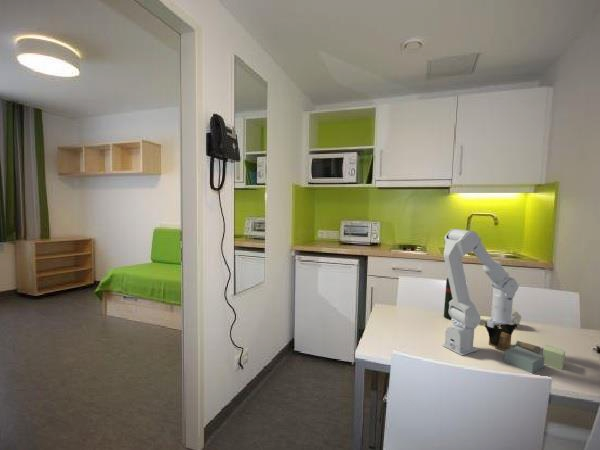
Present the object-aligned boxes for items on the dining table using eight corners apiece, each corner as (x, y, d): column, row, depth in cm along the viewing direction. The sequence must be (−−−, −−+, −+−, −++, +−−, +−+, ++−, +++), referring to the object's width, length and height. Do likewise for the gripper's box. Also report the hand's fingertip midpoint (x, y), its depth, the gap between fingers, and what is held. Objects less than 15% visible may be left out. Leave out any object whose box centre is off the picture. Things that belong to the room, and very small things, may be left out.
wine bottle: (469, 323, 132) (474, 257, 130) (445, 319, 135) (449, 255, 133) (465, 316, 140) (470, 254, 137) (442, 313, 143) (446, 252, 140)
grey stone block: (493, 325, 131) (507, 314, 125) (492, 311, 138) (505, 299, 131) (512, 334, 130) (527, 323, 123) (510, 319, 136) (524, 308, 130)
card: (538, 354, 105) (538, 352, 105) (514, 347, 110) (514, 346, 110) (540, 347, 110) (540, 346, 110) (517, 341, 115) (517, 340, 115)
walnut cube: (502, 350, 107) (503, 337, 107) (488, 344, 112) (489, 332, 111) (510, 348, 110) (511, 335, 109) (496, 342, 114) (497, 329, 114)
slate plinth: (531, 374, 93) (532, 362, 92) (504, 362, 100) (505, 350, 99) (543, 368, 97) (544, 356, 96) (515, 356, 104) (516, 345, 103)
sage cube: (561, 370, 96) (563, 355, 95) (542, 363, 99) (543, 349, 99) (563, 364, 99) (565, 350, 99) (544, 358, 103) (546, 344, 102)
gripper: (502, 313, 103) (499, 351, 104) (525, 308, 109) (522, 343, 110) (482, 307, 109) (479, 342, 110) (505, 302, 115) (502, 335, 116)
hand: (499, 342), depth 110 cm, fingers open, 7 cm apart
